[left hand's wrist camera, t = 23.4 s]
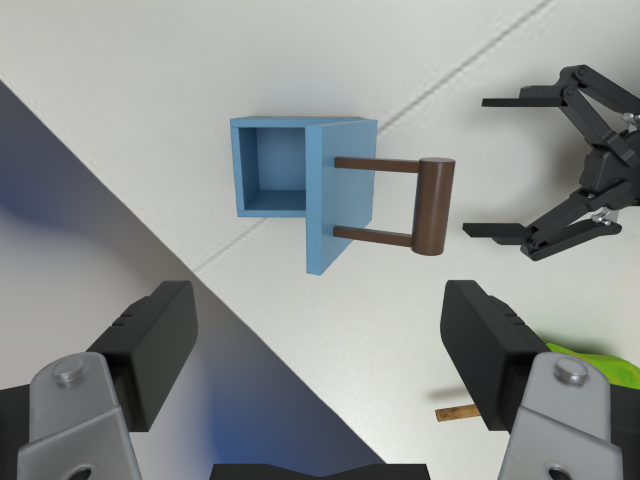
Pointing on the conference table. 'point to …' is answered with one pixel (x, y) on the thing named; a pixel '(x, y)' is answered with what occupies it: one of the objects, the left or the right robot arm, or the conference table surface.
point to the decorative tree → (608, 365)
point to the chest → (272, 164)
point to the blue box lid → (365, 193)
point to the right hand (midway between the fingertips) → (476, 170)
